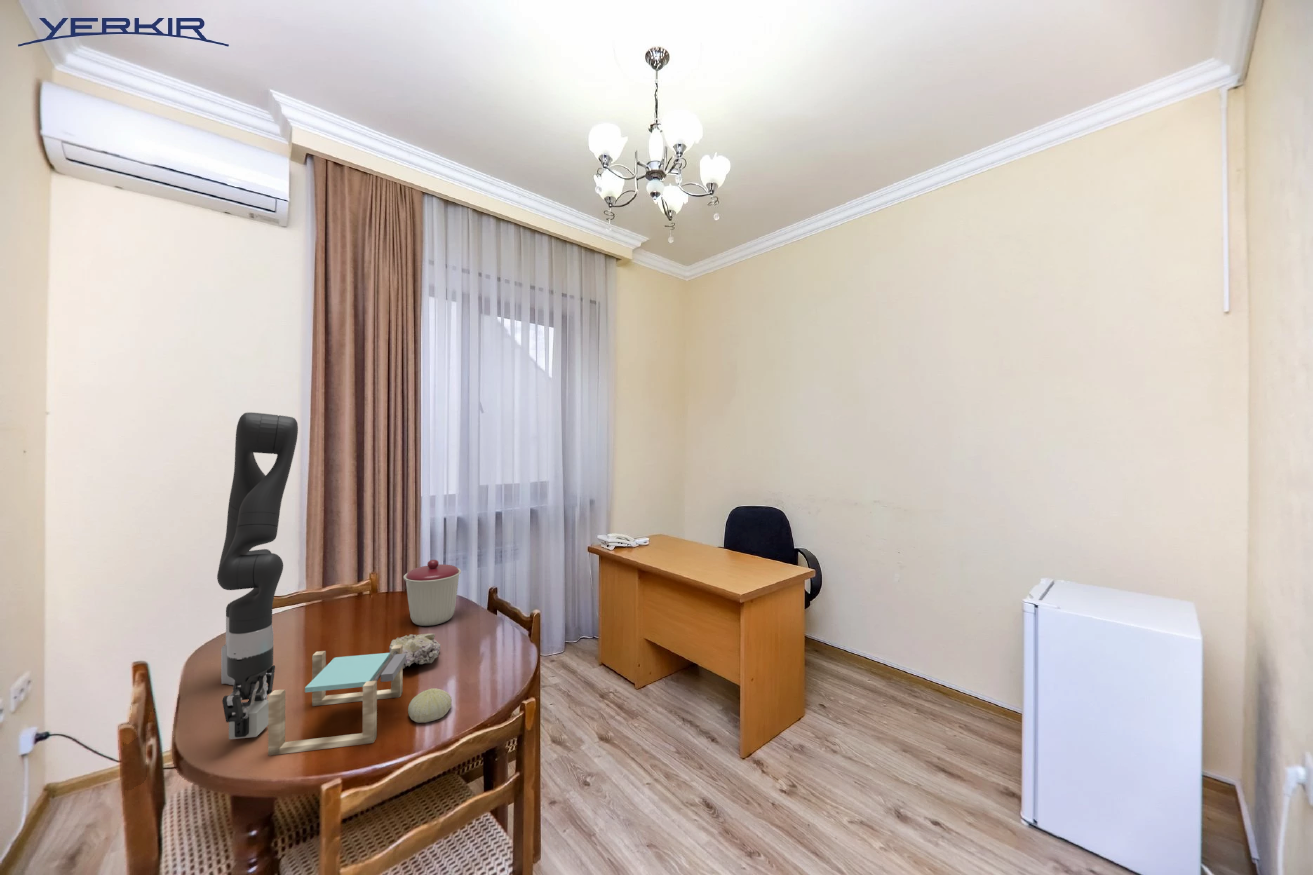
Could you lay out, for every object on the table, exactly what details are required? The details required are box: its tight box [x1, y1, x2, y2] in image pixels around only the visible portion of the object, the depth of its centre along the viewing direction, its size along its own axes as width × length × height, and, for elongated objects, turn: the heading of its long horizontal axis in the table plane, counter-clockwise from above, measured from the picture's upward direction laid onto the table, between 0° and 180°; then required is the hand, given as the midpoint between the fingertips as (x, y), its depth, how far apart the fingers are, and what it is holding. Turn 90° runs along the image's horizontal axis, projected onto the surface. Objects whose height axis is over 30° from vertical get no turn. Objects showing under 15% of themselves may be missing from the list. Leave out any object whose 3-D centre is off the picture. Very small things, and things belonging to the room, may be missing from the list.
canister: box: [403, 559, 462, 627], centre depth 166 cm, size 18×18×21 cm
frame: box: [267, 645, 404, 757], centre depth 107 cm, size 19×20×12 cm
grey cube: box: [228, 699, 268, 740], centre depth 102 cm, size 5×5×5 cm
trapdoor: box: [304, 652, 406, 693], centre depth 108 cm, size 16×14×2 cm
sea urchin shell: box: [407, 687, 453, 724], centre depth 110 cm, size 9×8×8 cm
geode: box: [388, 633, 442, 669], centre depth 136 cm, size 17×9×15 cm
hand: (250, 727), depth 102 cm, fingers closed on grey cube, 5 cm apart
